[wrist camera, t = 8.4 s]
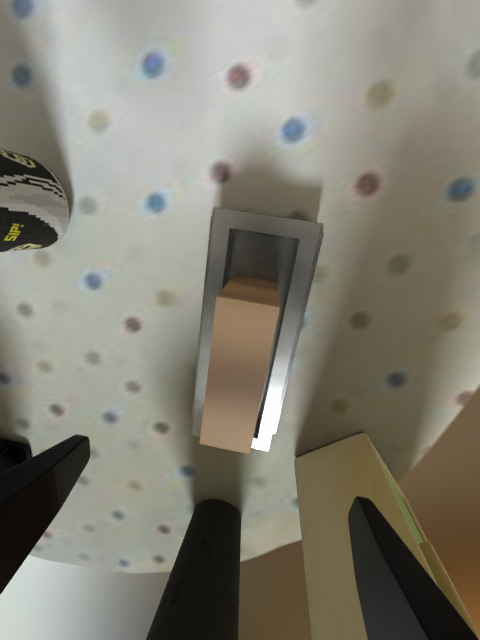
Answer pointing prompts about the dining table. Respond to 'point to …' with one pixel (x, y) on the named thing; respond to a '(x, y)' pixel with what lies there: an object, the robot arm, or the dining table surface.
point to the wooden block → (238, 361)
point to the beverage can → (30, 204)
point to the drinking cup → (203, 579)
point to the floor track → (267, 264)
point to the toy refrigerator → (334, 538)
